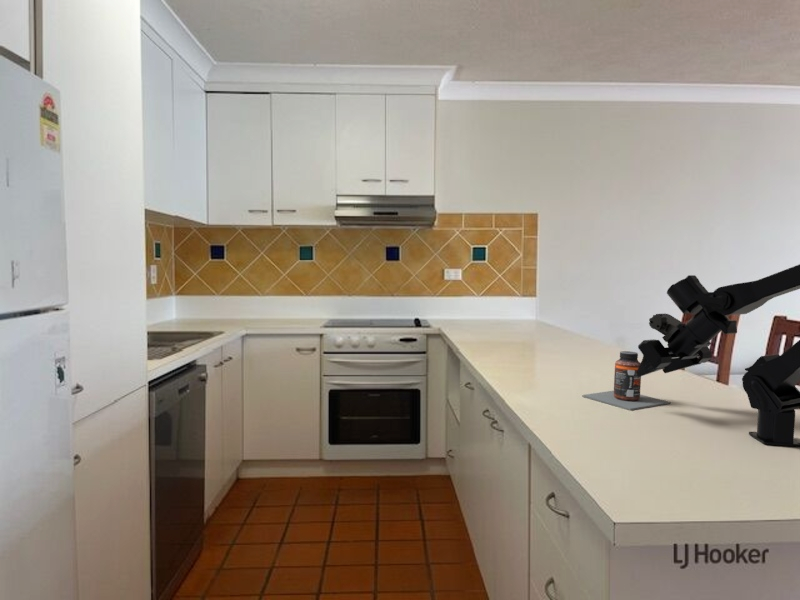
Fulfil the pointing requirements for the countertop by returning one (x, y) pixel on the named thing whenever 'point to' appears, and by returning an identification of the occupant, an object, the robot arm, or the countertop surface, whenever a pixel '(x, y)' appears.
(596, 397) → the mat
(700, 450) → the countertop surface
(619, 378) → the supplement bottle
